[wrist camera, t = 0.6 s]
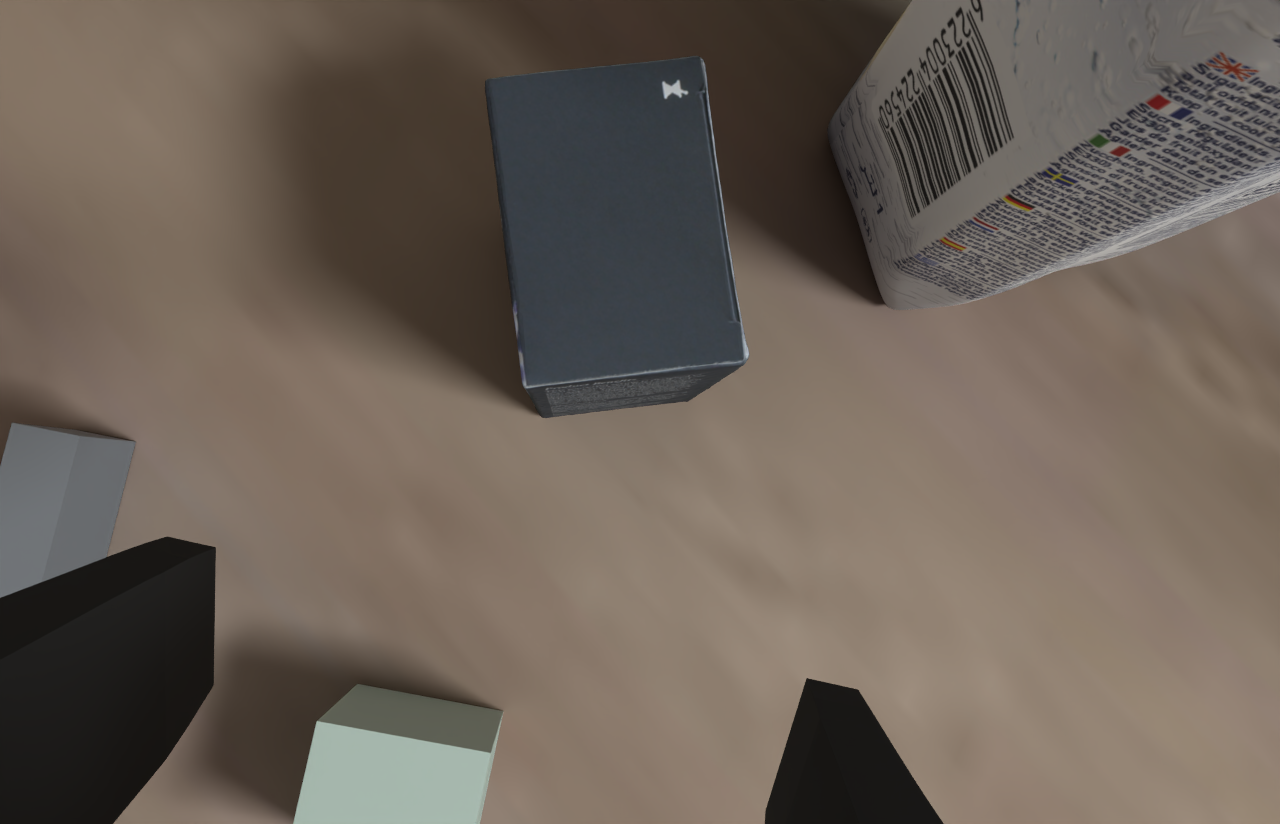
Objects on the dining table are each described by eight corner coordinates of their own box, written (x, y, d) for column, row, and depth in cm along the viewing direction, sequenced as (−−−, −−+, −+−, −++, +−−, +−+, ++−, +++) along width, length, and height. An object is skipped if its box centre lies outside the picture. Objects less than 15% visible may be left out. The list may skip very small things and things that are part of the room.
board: (-6, 993, 29) (-84, 1062, 25) (-70, 983, 29) (-158, 1051, 25) (135, 441, 31) (79, 436, 27) (75, 429, 30) (11, 422, 27)
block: (472, 860, 30) (453, 932, 25) (323, 834, 30) (275, 902, 25) (503, 710, 31) (490, 752, 26) (357, 683, 31) (317, 721, 26)
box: (510, 205, 32) (480, 69, 22) (667, 189, 33) (711, 49, 22) (537, 423, 32) (519, 391, 21) (695, 403, 32) (755, 363, 22)
